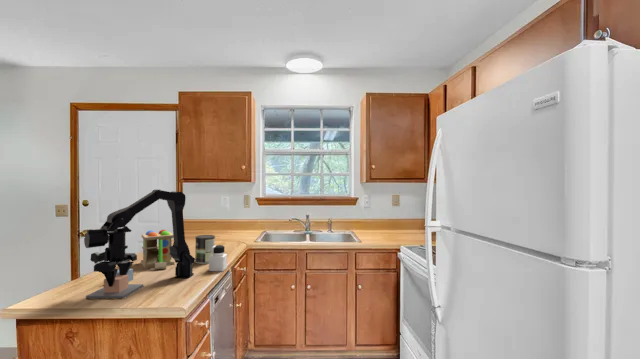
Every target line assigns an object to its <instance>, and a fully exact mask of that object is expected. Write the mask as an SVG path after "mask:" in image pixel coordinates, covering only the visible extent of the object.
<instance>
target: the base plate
mask: <svg viewBox="0 0 640 359" xmlns="http://www.w3.org/2000/svg"><path fill="white" fill-rule="evenodd" d="M144 286H145V284H141V283H139V284H138V283H137V284H136V283H135V284H133V283H131V284H130V283H128V288H126V289H125V290H123V291H121V292H104V286H103V287H101V288H100V289H99V288H98V290H95V291H94V292H93V291H92V293H89V294H87V295H86V296H85V299H86V298H94V299H95V300H97V299H98V300H100V299H99V298H124V299H125V297H126V298H127V297H129V296H131V295H132V294H133V293H136V292H137V291H139V290H141V289H142V288H144ZM130 294H131V295H130ZM94 299H93V300H94Z"/></svg>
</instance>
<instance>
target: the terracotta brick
mask: <svg viewBox="0 0 640 359" xmlns="http://www.w3.org/2000/svg"><path fill="white" fill-rule="evenodd" d="M128 276H129V275H116V277H115V280H114V283H113V286H112V287H109V285H108V282H107V280H106V278H104V279H103V287H104V292H121V291H123V290H125V289H126V288H128V284H129V282H128Z"/></svg>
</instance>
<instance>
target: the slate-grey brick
mask: <svg viewBox="0 0 640 359" xmlns="http://www.w3.org/2000/svg"><path fill="white" fill-rule="evenodd" d="M117 269H118V271H117V274H116V275H120V273H119V268H117ZM127 275H129V276H128V283H129V282H132V281H133V280H134V268H130V269H129V271H128V273H127Z"/></svg>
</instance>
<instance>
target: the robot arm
mask: <svg viewBox="0 0 640 359" xmlns="http://www.w3.org/2000/svg"><path fill="white" fill-rule="evenodd" d="M186 198H187V197H186V195H185V193H184V192H183V191H174V190H173V191H166V190H162V189H153V190H151V192H149V193H148V194H146V195H145V196H143V197H141V198H140V199H138V200H137V201H135V202H133V203H131V204H130V205H129V206H127V207H124V208H121V209H118V210H115V211H113V212H111V213H109V214H108V215H107V218H106V221H104V223H103V224H102V226H101V227H100V228H96V229H93V228H92V229H87V230H86V232H85V234H84V235H85V236H84V237H83V238H84V239H83V242H84V247H85V248H86V249H91V248H98V247H105V246H106V245H107V244H108V245H107V246H108V247H105V249H104V251H103V252H101V253H99V251H96V252H93V253H91V254H90V261H91V262H93V263H94V265H93V272H95V273H96V272H99V273H101V274H103V276H104V277H105V278H104V279H106V280H107V282H108V285H109V287H112V286H113V283H114V280H115V277H116V274H117V271H118V269H119V273H120V275H127V273H128V271H129V269H131V267H132V265H133V264H134V263H135V261H137V260H138V258H137V257H138V255H137V254H136V253H135V252H134V253H130V252H126V249H128V247H129V245H126V233H131V232H132V229H130V228H129V227H128V226H127V225H128V223H130V222H131V221H132V219H134V217H135V216H136V215H137V214H139V213H140V212H142V211H143V210H145V209H146V208H148V207H149V206H151V205H153V204H154V203H156V202H157V201H159V200H163V201H166V204H167V205H168V209H169V210H170V211H171V212H170V213H171V220H172V222H171V224H172V234H173V236H174V238H173V244H172V246H170V247H169V248H170V255H171V257H172V260H173V261H174V263H176V266H175V269H174V271H175V276H174V279H189V278H191V277H192V276H193V275H194V272H193V266H194V265H193V264H195V257H194V256H192V254H191V252H190V247H189V245H188V244H187V242H186V236H185V224H184V223H185V222H184V208H185V205H186ZM117 267H118V268H117Z"/></svg>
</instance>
